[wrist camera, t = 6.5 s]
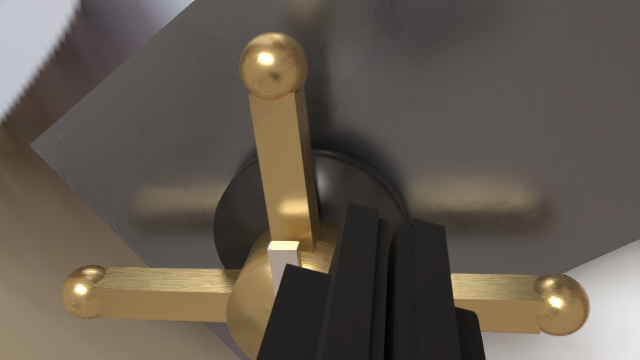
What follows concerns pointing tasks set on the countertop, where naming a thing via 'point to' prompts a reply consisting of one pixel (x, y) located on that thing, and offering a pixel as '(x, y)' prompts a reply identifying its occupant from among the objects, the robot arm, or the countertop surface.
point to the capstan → (298, 230)
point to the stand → (382, 124)
